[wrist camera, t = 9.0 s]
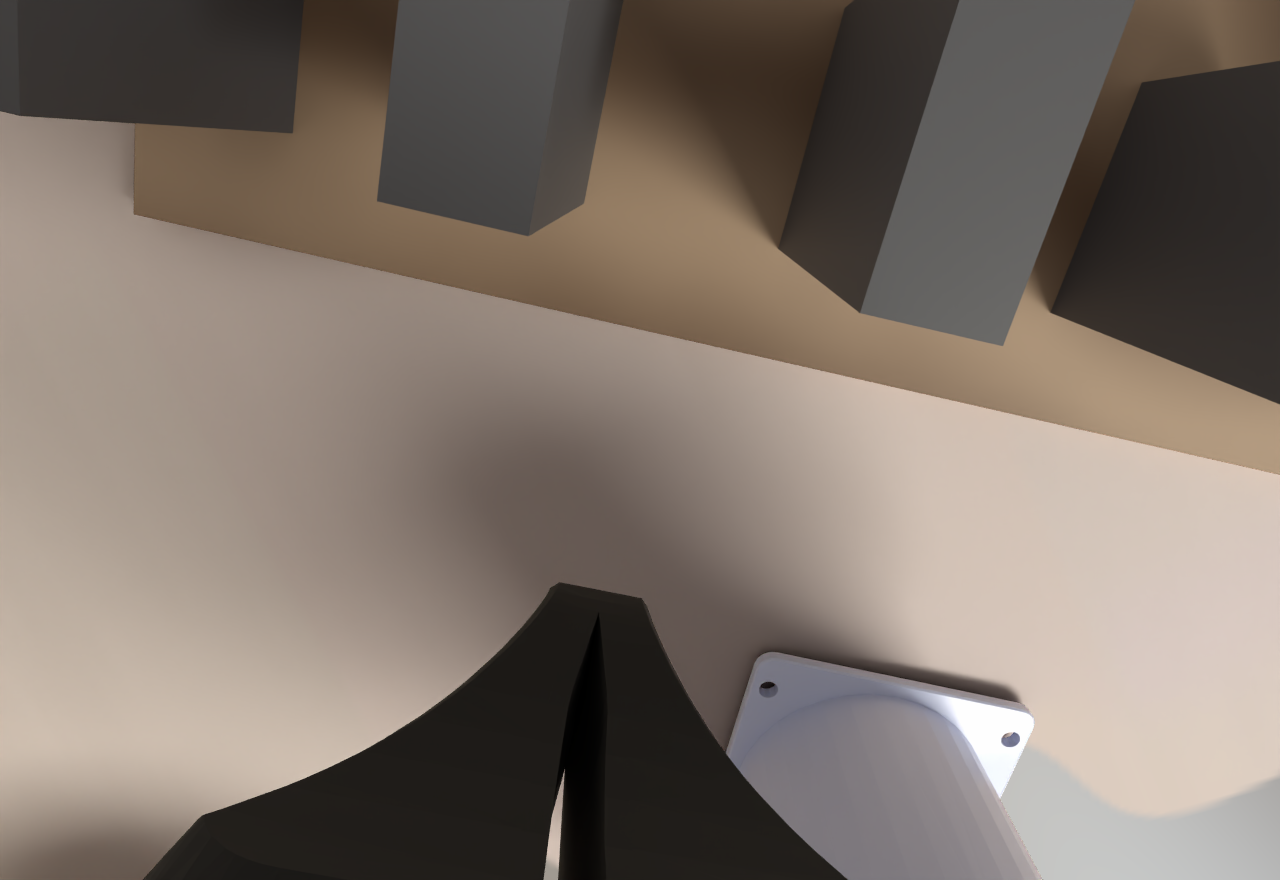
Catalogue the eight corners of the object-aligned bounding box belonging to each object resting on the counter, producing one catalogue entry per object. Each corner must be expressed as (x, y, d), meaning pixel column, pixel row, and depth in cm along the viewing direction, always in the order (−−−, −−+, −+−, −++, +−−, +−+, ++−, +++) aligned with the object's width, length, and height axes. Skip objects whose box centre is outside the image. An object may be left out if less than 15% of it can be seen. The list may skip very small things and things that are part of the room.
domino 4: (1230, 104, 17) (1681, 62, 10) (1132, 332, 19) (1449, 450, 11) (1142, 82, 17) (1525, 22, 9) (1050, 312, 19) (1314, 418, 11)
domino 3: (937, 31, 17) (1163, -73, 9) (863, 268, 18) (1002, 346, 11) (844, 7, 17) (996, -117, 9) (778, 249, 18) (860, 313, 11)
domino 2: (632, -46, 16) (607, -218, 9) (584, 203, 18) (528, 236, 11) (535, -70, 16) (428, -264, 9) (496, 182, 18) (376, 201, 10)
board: (1627, 549, 21) (1654, 560, 20) (149, 212, 19) (133, 214, 18) (1912, 147, 18) (1954, 146, 17) (159, -308, 16) (140, -326, 15)
